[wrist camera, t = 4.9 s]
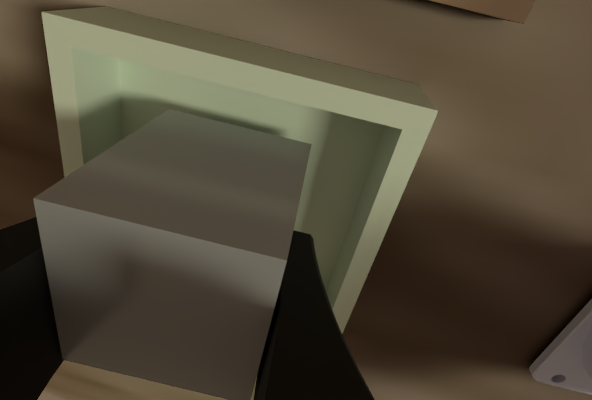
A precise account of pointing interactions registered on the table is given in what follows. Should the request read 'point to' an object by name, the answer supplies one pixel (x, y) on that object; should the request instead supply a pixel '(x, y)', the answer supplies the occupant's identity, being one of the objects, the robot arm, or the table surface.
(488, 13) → the brown shallow tray
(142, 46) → the green bin
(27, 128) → the table surface
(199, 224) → the grey block
